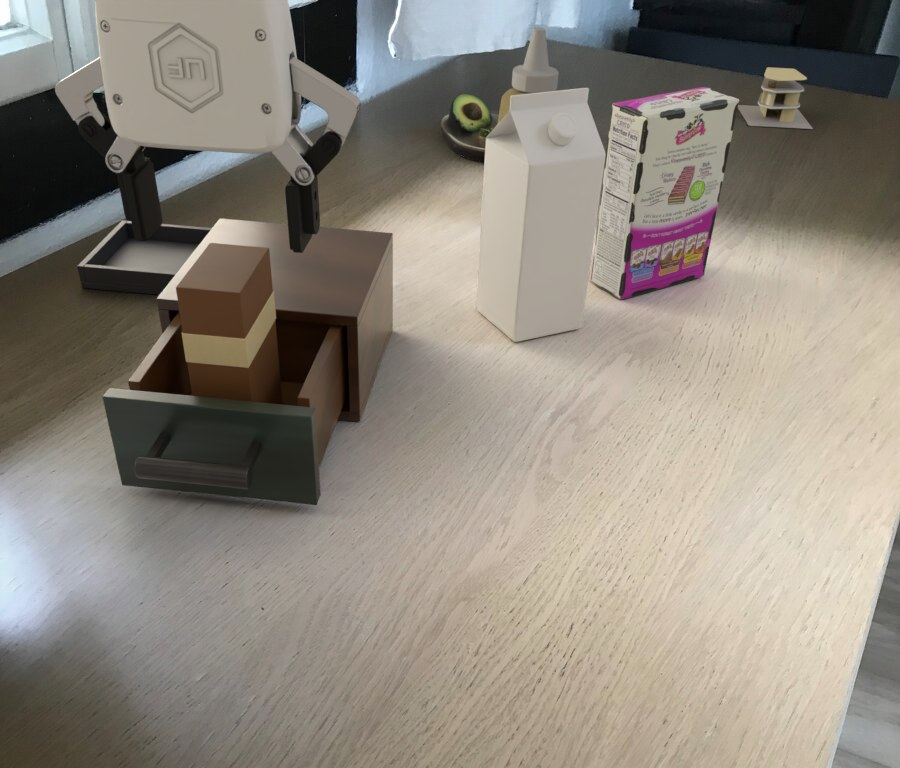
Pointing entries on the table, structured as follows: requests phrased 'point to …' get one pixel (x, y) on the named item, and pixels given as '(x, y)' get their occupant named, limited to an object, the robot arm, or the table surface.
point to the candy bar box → (661, 189)
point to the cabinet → (319, 290)
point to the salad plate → (468, 126)
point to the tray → (139, 258)
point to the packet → (231, 325)
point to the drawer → (232, 421)
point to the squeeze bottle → (531, 72)
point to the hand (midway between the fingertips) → (225, 238)
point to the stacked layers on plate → (778, 101)
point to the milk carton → (539, 214)
